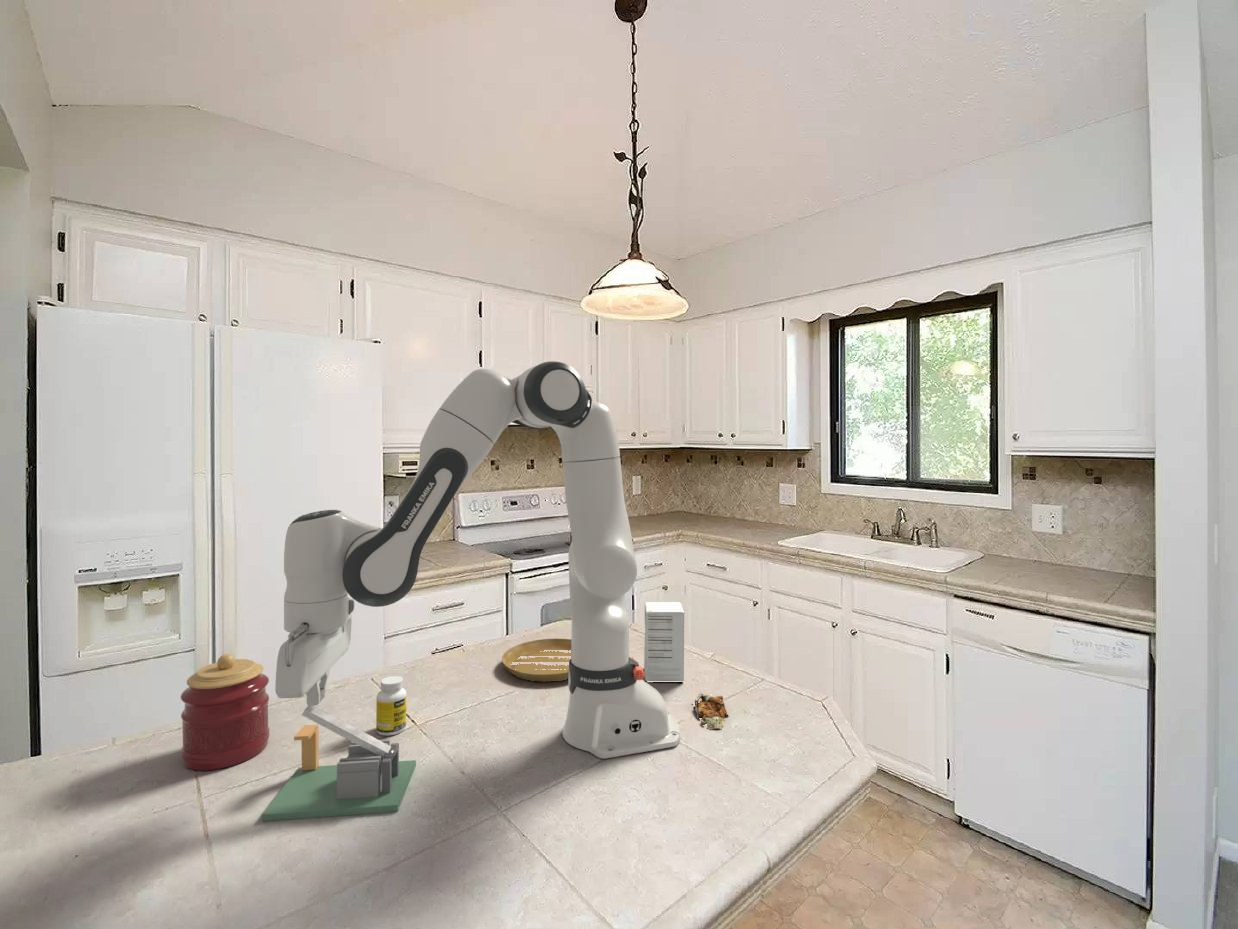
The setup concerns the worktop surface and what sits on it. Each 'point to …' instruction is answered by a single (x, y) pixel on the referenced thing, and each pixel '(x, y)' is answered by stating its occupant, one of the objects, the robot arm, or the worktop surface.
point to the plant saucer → (538, 660)
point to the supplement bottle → (391, 707)
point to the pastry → (711, 710)
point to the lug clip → (309, 746)
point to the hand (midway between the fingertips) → (316, 701)
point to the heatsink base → (325, 793)
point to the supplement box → (664, 641)
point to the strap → (350, 732)
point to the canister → (224, 714)
